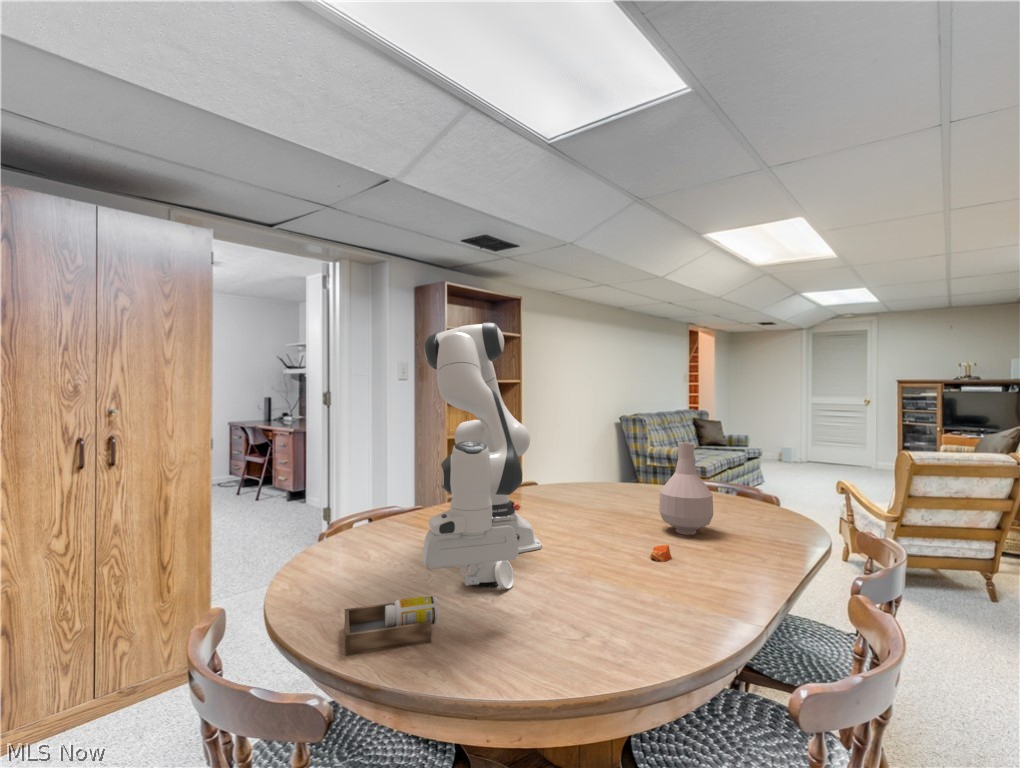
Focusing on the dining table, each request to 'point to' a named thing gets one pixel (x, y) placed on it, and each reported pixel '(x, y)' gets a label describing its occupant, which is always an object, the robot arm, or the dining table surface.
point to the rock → (661, 553)
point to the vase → (686, 495)
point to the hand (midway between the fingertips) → (471, 584)
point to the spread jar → (495, 574)
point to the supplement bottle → (412, 611)
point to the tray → (379, 631)
